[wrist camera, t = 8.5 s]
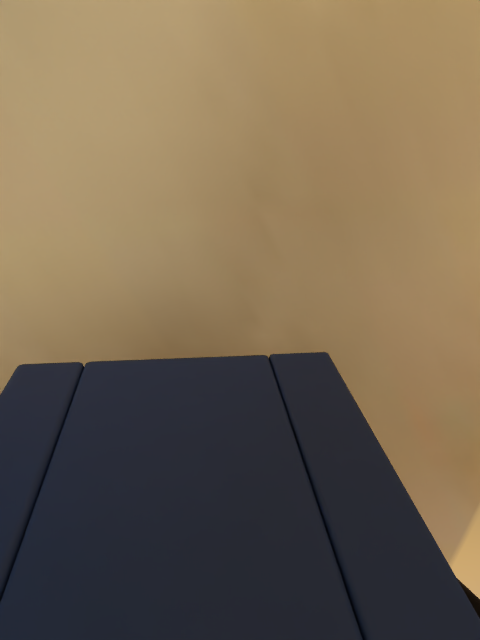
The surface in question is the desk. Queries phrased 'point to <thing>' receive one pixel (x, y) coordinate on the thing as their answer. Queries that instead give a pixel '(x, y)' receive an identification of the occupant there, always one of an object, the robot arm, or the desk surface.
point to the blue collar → (209, 508)
